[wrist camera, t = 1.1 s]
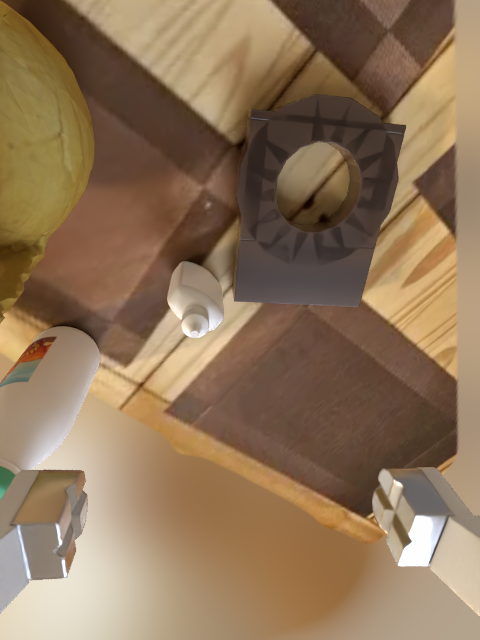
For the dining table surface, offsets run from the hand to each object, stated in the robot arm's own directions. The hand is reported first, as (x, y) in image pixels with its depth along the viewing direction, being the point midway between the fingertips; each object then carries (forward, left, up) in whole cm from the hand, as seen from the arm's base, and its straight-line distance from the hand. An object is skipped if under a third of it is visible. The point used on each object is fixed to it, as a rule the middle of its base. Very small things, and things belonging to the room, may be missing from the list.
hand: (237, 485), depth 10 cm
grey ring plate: (-1, +10, -32) cm, 34 cm away
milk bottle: (+17, -16, -32) cm, 40 cm away
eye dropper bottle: (+7, -1, -32) cm, 33 cm away
